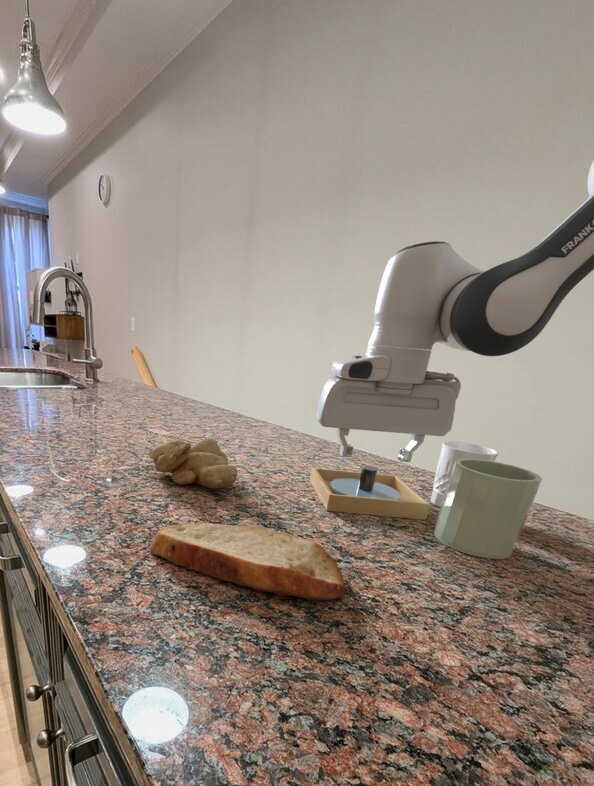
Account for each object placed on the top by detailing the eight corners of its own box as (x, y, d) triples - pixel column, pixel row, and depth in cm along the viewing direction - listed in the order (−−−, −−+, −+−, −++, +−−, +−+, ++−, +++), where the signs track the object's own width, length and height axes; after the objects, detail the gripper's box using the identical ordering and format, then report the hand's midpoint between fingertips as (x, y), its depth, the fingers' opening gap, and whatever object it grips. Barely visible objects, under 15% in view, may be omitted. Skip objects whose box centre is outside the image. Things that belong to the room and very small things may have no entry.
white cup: (487, 516, 72) (509, 456, 68) (439, 512, 71) (458, 451, 68) (462, 499, 79) (480, 443, 75) (418, 495, 79) (434, 439, 75)
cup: (487, 530, 66) (511, 462, 62) (528, 562, 57) (560, 484, 53) (422, 524, 66) (442, 455, 62) (453, 555, 57) (479, 477, 53)
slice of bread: (142, 540, 53) (143, 511, 52) (272, 526, 60) (276, 500, 59) (198, 632, 38) (202, 594, 37) (363, 599, 45) (371, 567, 44)
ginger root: (153, 453, 83) (165, 412, 80) (232, 483, 83) (248, 443, 80) (127, 481, 69) (139, 433, 66) (222, 517, 69) (240, 471, 66)
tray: (392, 489, 81) (396, 475, 80) (425, 520, 68) (430, 504, 67) (309, 481, 81) (312, 467, 80) (326, 510, 68) (329, 494, 67)
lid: (385, 487, 79) (392, 462, 77) (410, 511, 69) (418, 482, 67) (323, 481, 79) (328, 456, 77) (338, 504, 69) (344, 475, 67)
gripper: (453, 372, 69) (430, 458, 74) (322, 361, 69) (308, 448, 74) (475, 376, 63) (448, 469, 69) (331, 364, 63) (315, 458, 69)
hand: (374, 458), depth 71 cm, fingers open, 8 cm apart
